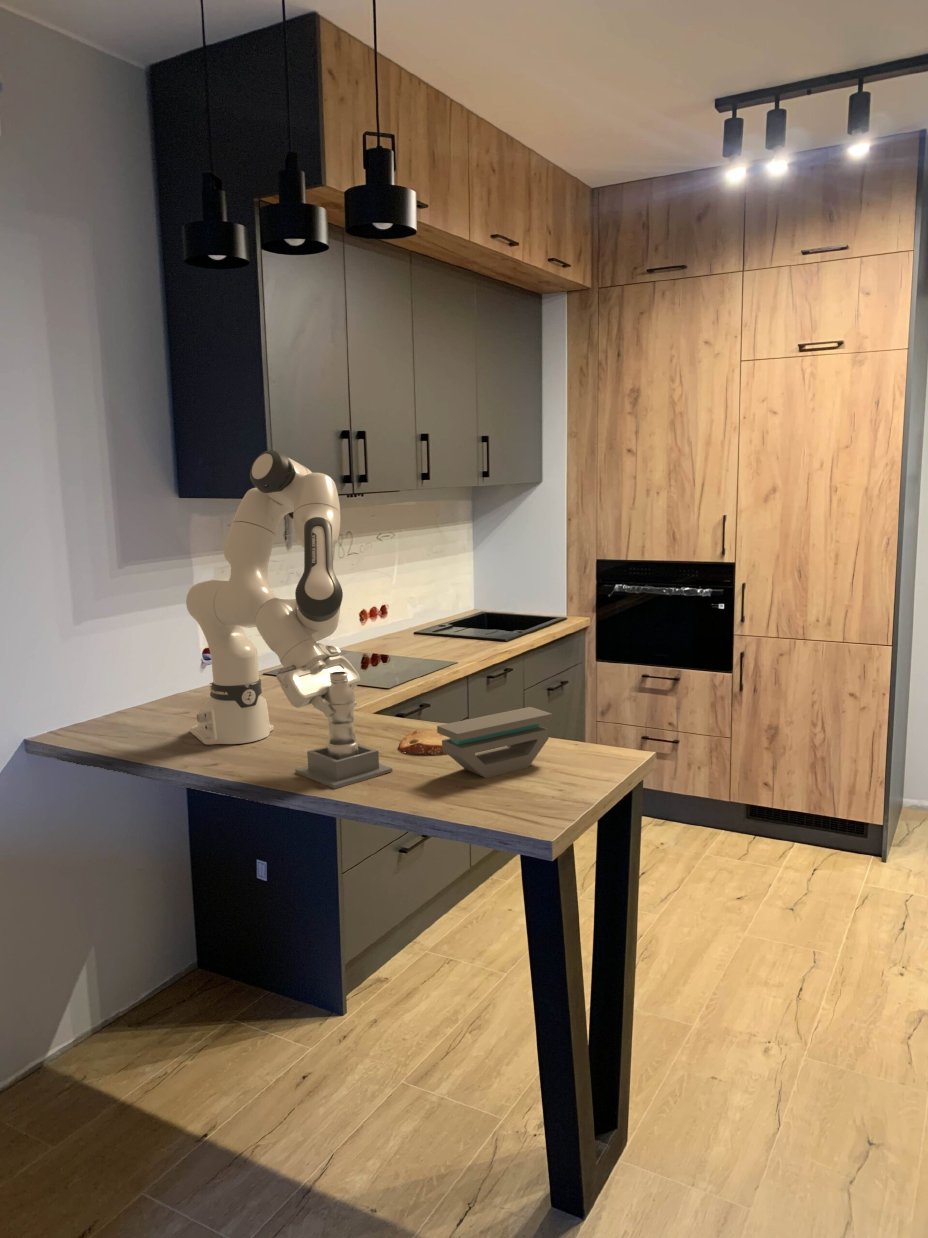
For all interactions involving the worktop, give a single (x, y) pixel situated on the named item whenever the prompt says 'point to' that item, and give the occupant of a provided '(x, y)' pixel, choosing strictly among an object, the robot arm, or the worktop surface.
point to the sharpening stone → (496, 741)
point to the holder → (342, 767)
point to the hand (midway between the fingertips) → (342, 710)
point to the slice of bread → (422, 743)
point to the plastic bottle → (341, 717)
